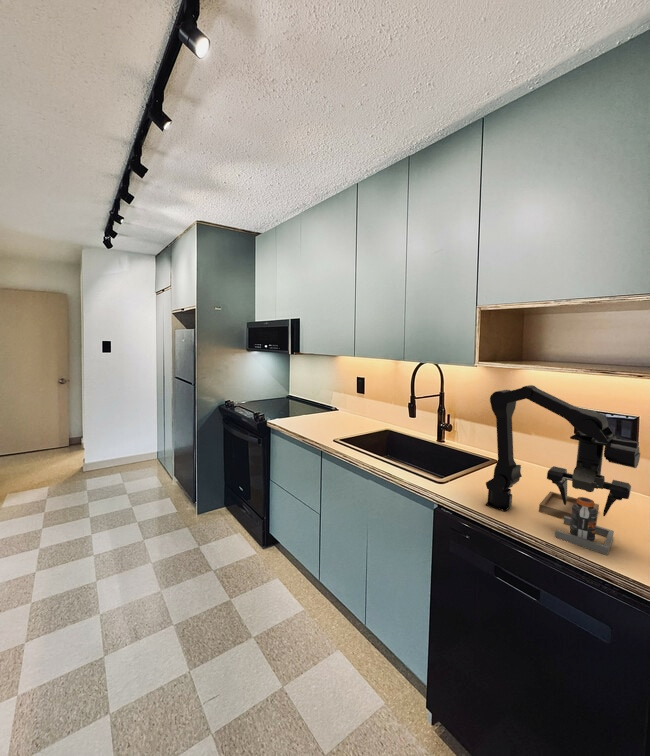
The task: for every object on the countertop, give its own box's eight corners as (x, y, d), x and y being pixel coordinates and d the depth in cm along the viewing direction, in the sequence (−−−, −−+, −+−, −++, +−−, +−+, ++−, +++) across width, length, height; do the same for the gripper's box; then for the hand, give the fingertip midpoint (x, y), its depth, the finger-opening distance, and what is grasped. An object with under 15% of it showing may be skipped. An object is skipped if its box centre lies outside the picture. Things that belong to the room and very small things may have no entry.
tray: (538, 511, 118) (539, 504, 118) (549, 498, 128) (550, 491, 128) (590, 527, 109) (591, 519, 108) (598, 511, 118) (599, 504, 118)
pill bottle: (590, 545, 99) (594, 506, 98) (566, 535, 104) (569, 498, 103) (597, 538, 103) (601, 500, 102) (574, 529, 108) (577, 493, 106)
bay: (554, 537, 103) (555, 530, 103) (564, 522, 112) (564, 515, 111) (607, 555, 95) (608, 548, 95) (613, 537, 103) (613, 530, 103)
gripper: (544, 456, 102) (539, 508, 103) (630, 474, 89) (623, 533, 90) (553, 447, 109) (549, 496, 111) (633, 463, 96) (627, 517, 98)
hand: (584, 509), depth 103 cm, fingers open, 9 cm apart
